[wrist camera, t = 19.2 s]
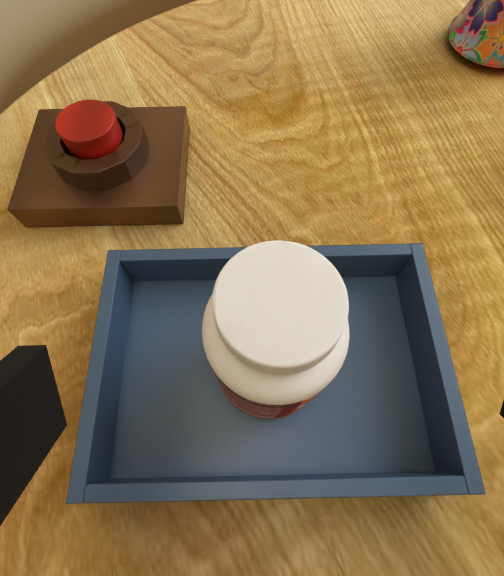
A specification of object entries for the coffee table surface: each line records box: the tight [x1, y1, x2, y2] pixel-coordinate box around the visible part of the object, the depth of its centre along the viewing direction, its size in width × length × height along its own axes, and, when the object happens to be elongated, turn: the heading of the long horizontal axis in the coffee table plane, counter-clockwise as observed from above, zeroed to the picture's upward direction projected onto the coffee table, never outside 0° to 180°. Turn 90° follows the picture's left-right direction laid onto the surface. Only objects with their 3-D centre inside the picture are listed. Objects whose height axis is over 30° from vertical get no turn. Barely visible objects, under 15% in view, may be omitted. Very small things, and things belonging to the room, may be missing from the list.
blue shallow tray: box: [66, 243, 486, 504], centre depth 21 cm, size 20×14×4 cm
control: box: [8, 101, 190, 227], centre depth 27 cm, size 12×10×4 cm
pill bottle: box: [202, 240, 350, 419], centre depth 17 cm, size 6×6×11 cm
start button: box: [56, 100, 123, 160], centre depth 25 cm, size 4×4×2 cm
